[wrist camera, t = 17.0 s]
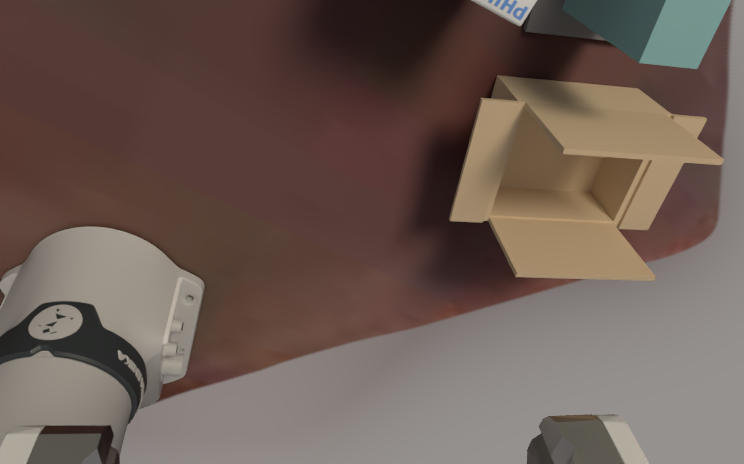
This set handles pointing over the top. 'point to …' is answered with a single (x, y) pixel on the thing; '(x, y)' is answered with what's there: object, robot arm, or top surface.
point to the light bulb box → (509, 9)
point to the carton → (572, 174)
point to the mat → (556, 21)
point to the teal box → (653, 27)
